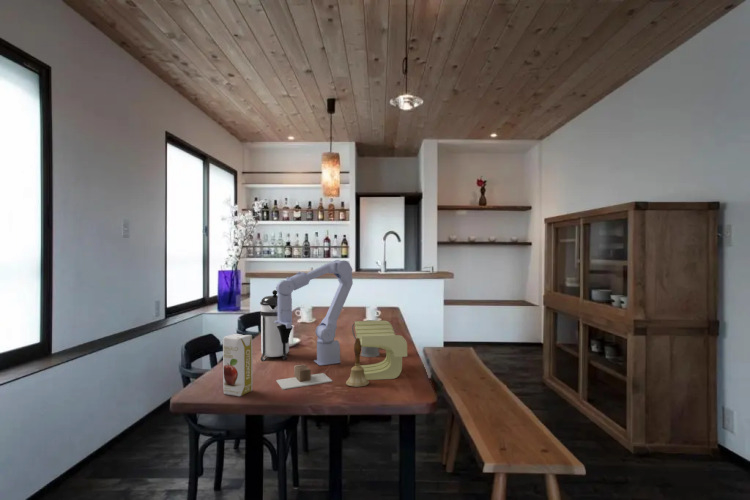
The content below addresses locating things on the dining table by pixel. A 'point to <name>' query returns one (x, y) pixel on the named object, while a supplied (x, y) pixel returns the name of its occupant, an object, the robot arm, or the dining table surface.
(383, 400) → the dining table surface
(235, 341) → the juice carton
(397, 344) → the slatted curved stool
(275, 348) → the coffee press
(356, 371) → the hand bell
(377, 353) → the glass holder
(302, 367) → the walnut block
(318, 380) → the felt mat
